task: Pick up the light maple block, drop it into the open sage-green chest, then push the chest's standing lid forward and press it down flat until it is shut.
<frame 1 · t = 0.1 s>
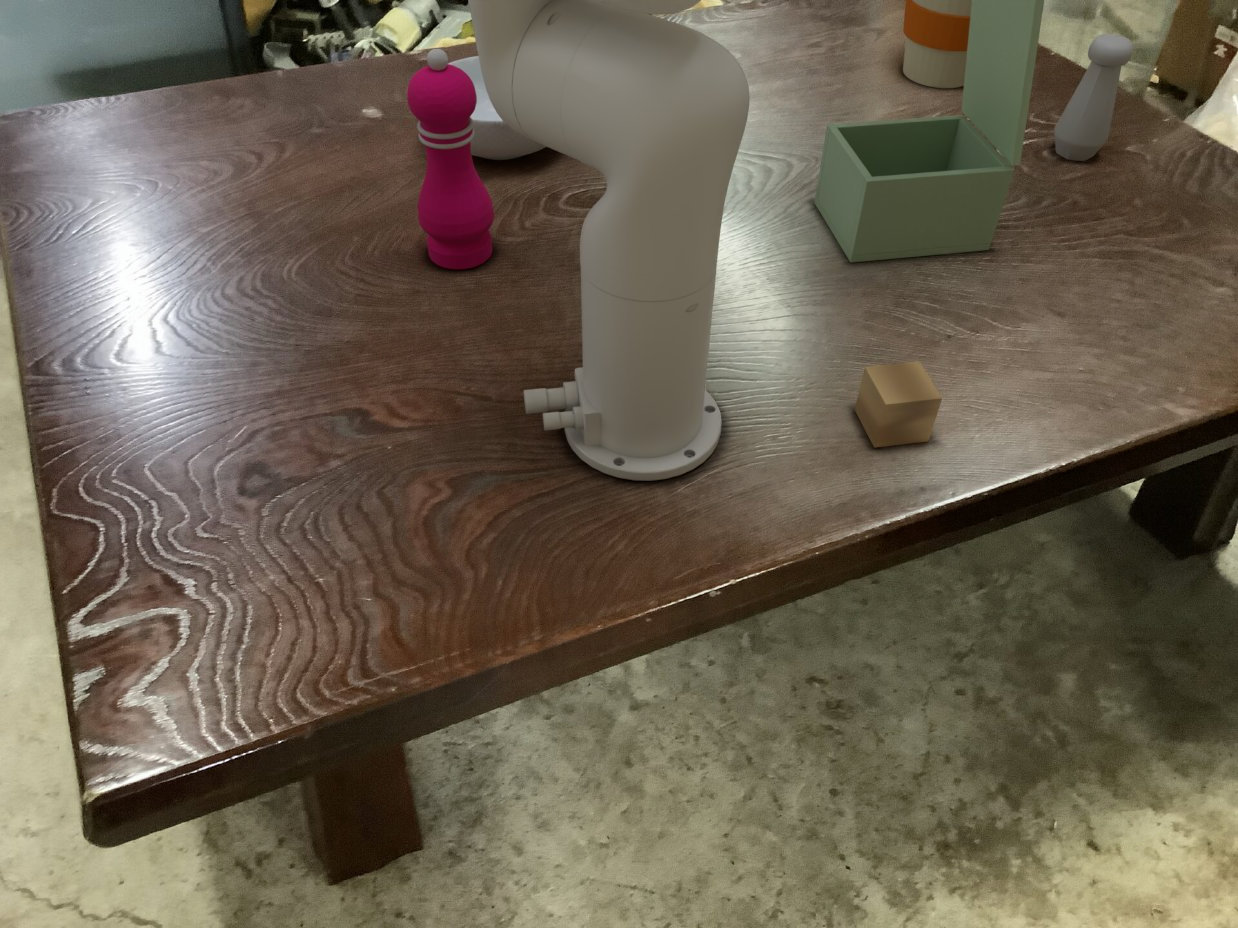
chest: (898, 226, 101), on the table
reusable coffee cup: (937, 75, 128), on the table
salt shaker: (1073, 154, 113), on the table
lid: (998, 59, 90), point 17 cm above the table, hinge at 80.0°
block: (890, 425, 80), on the table
cereal bowl: (502, 146, 113), on the table
pepper mill: (461, 254, 97), on the table
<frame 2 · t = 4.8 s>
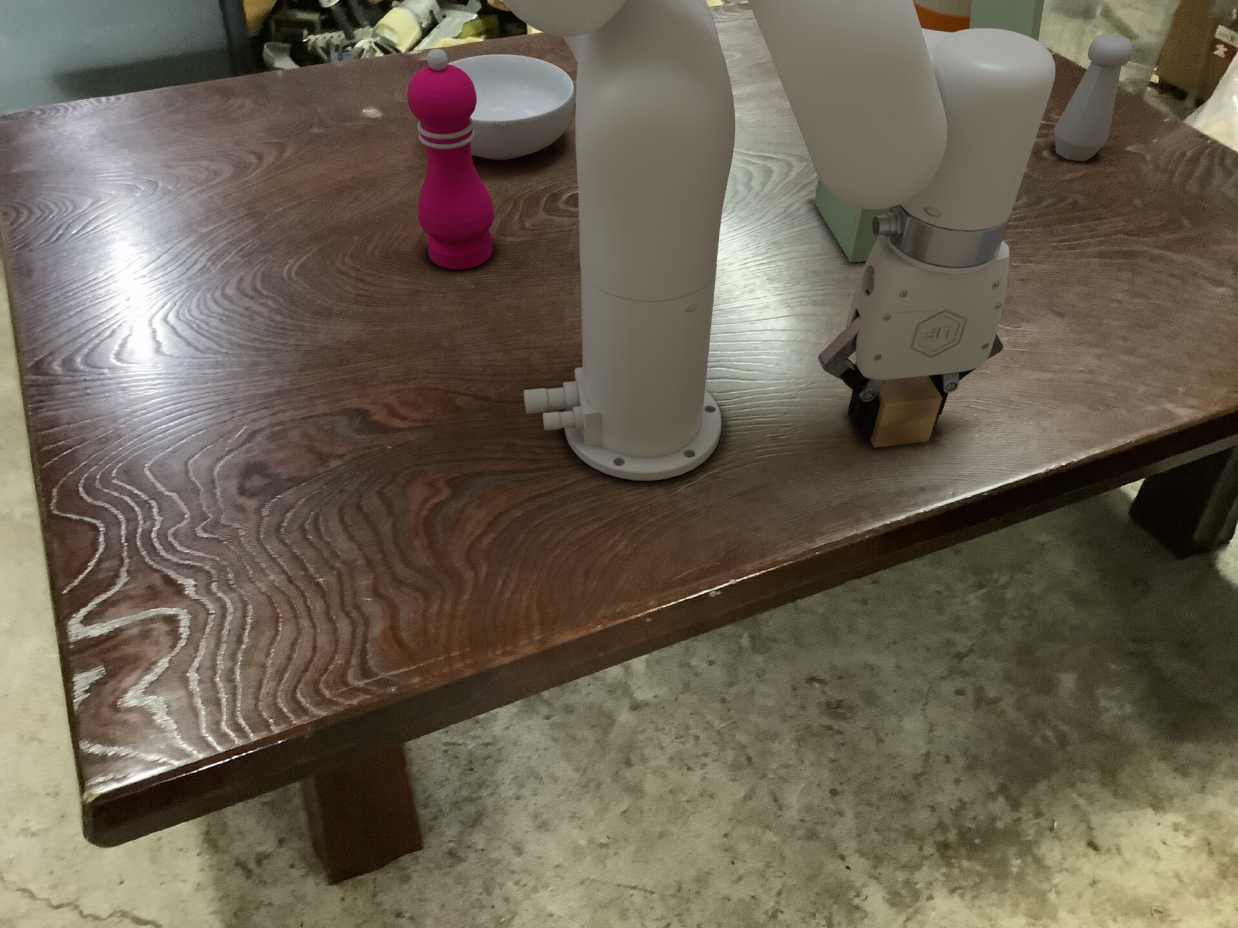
hand: (892, 422, 79), 0 cm above the table, tool pointing down, fingers closed on block, 4 cm apart
block: (890, 425, 80), on the table, touching gripper
everything else where it was.
when the fingers open (7 cm above the table, at t = 11.9 s): block drops 6 cm, resting on chest.
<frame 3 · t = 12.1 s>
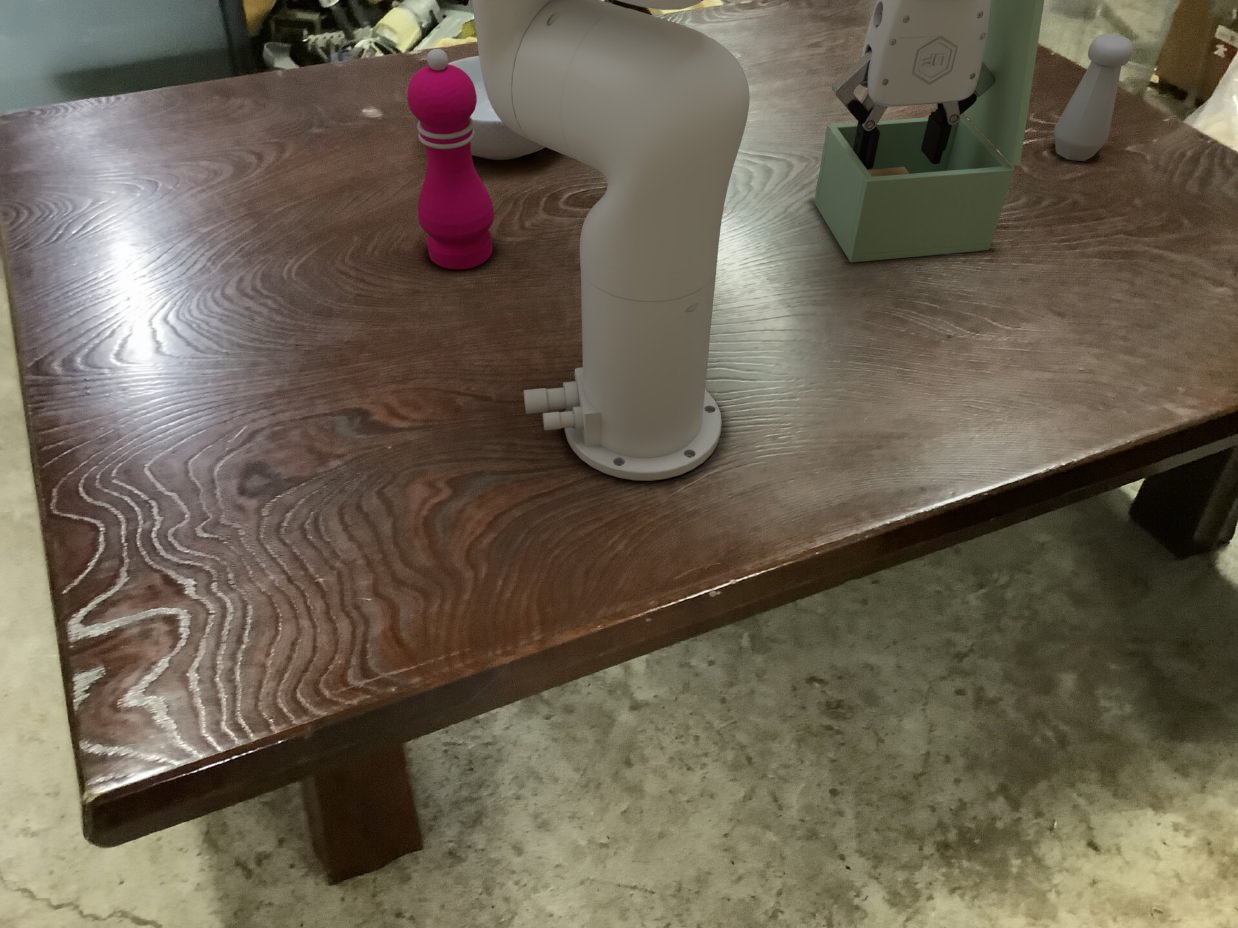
hand: (897, 158, 96), 8 cm above the table, tool pointing down, fingers open, 6 cm apart
block: (882, 220, 100), point 1 cm above the table, touching chest
everything else where it was.
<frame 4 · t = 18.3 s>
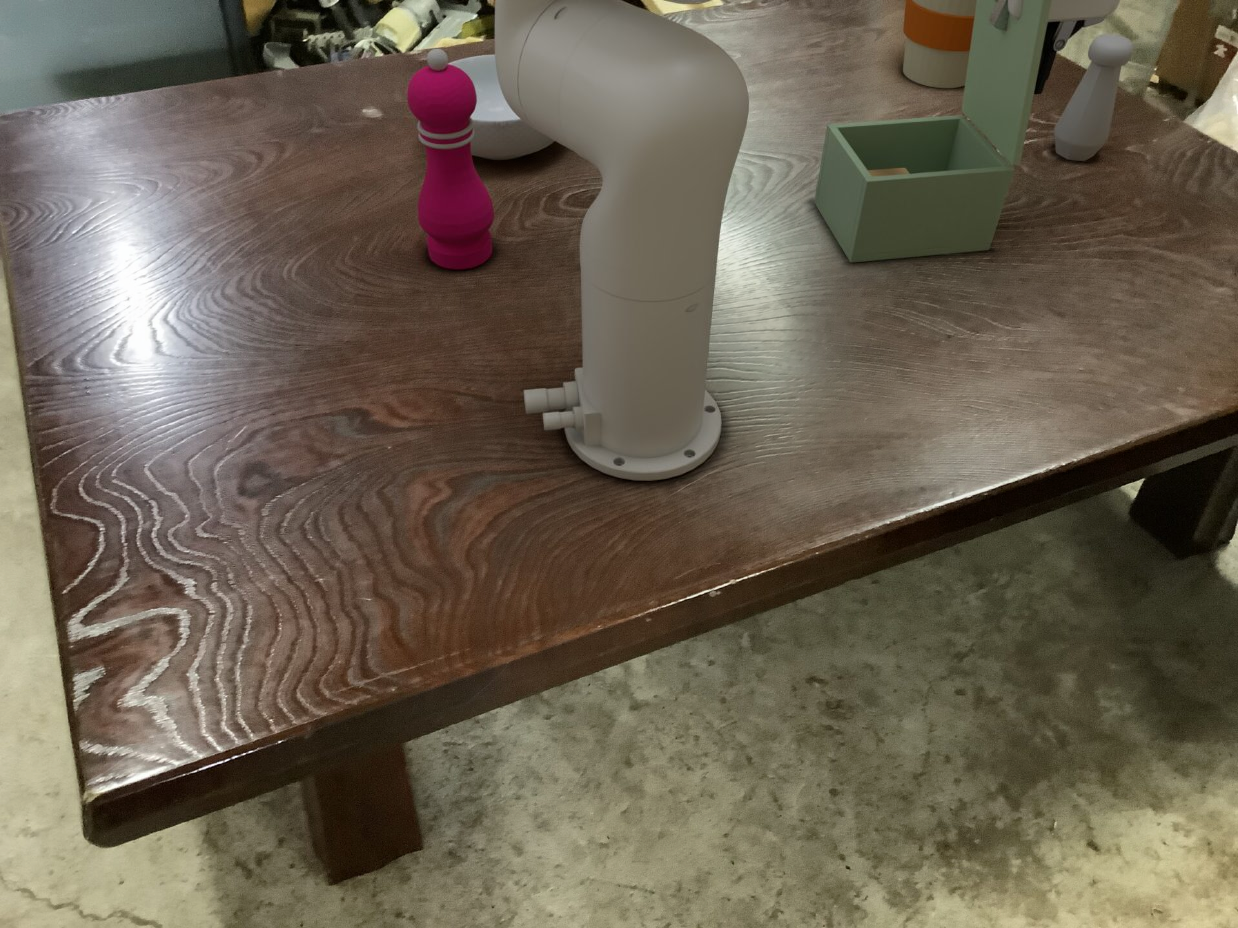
hand: (1025, 88, 93), 14 cm above the table, tool pointing down, fingers closed
lid: (1002, 58, 90), point 17 cm above the table, hinge at 82.4°, touching gripper
everything else where it was.
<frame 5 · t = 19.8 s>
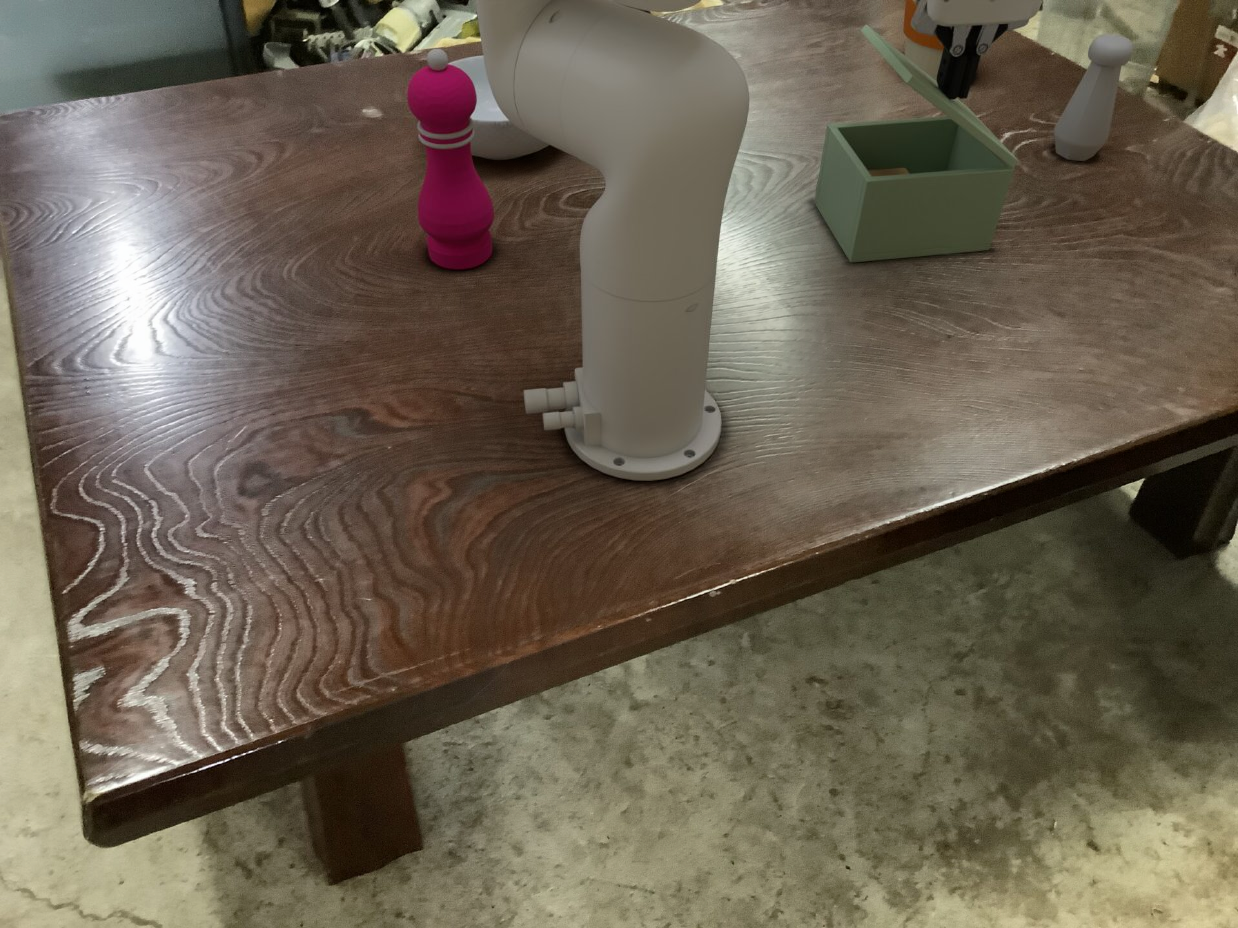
hand: (951, 92, 92), 14 cm above the table, tool pointing down, fingers closed
lid: (939, 96, 92), point 14 cm above the table, hinge at 35.2°, touching gripper
everything else where it was.
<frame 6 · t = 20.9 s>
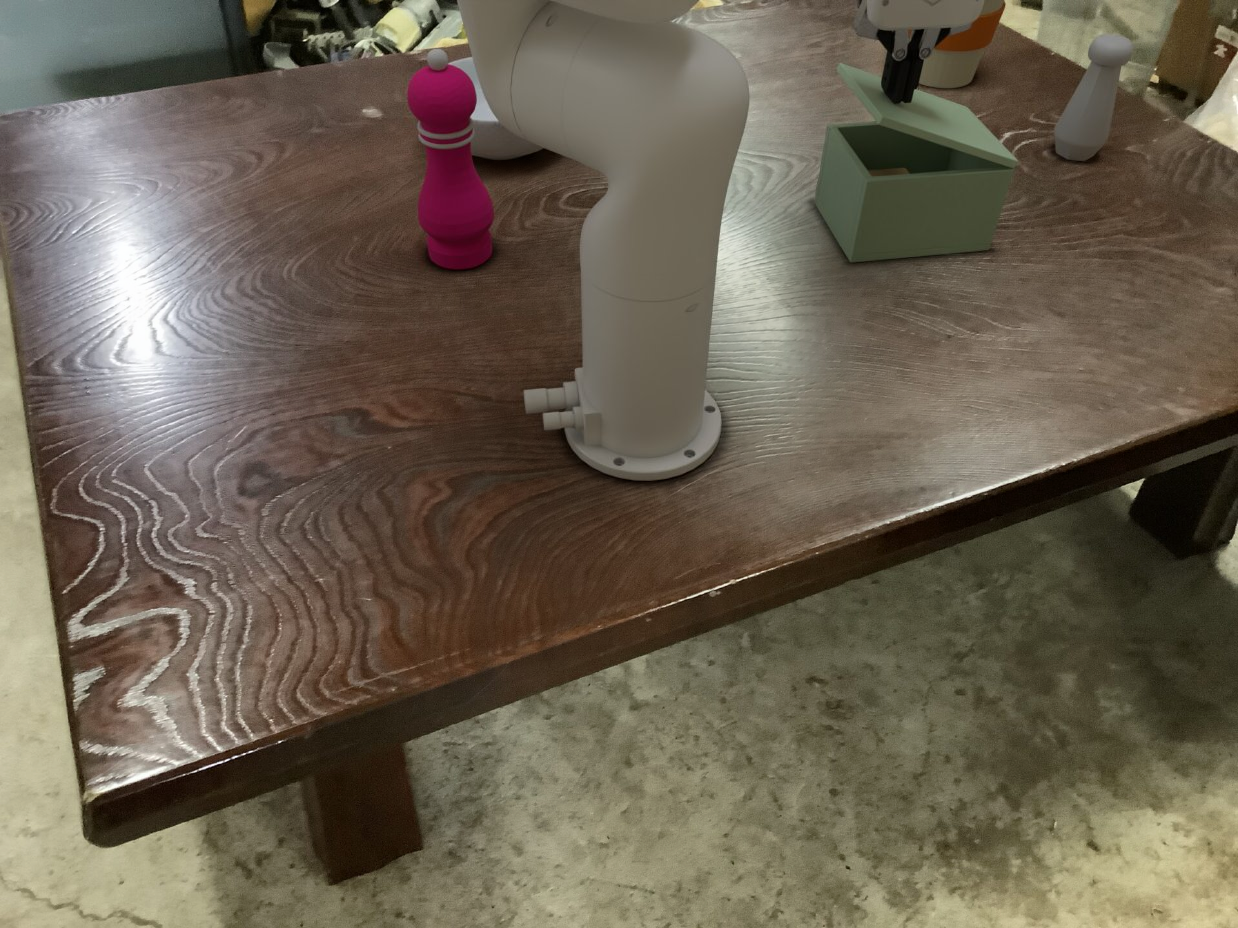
hand: (896, 97, 91), 14 cm above the table, tool pointing down, fingers closed
lid: (925, 115, 93), point 12 cm above the table, hinge at 20.4°
everything else where it was.
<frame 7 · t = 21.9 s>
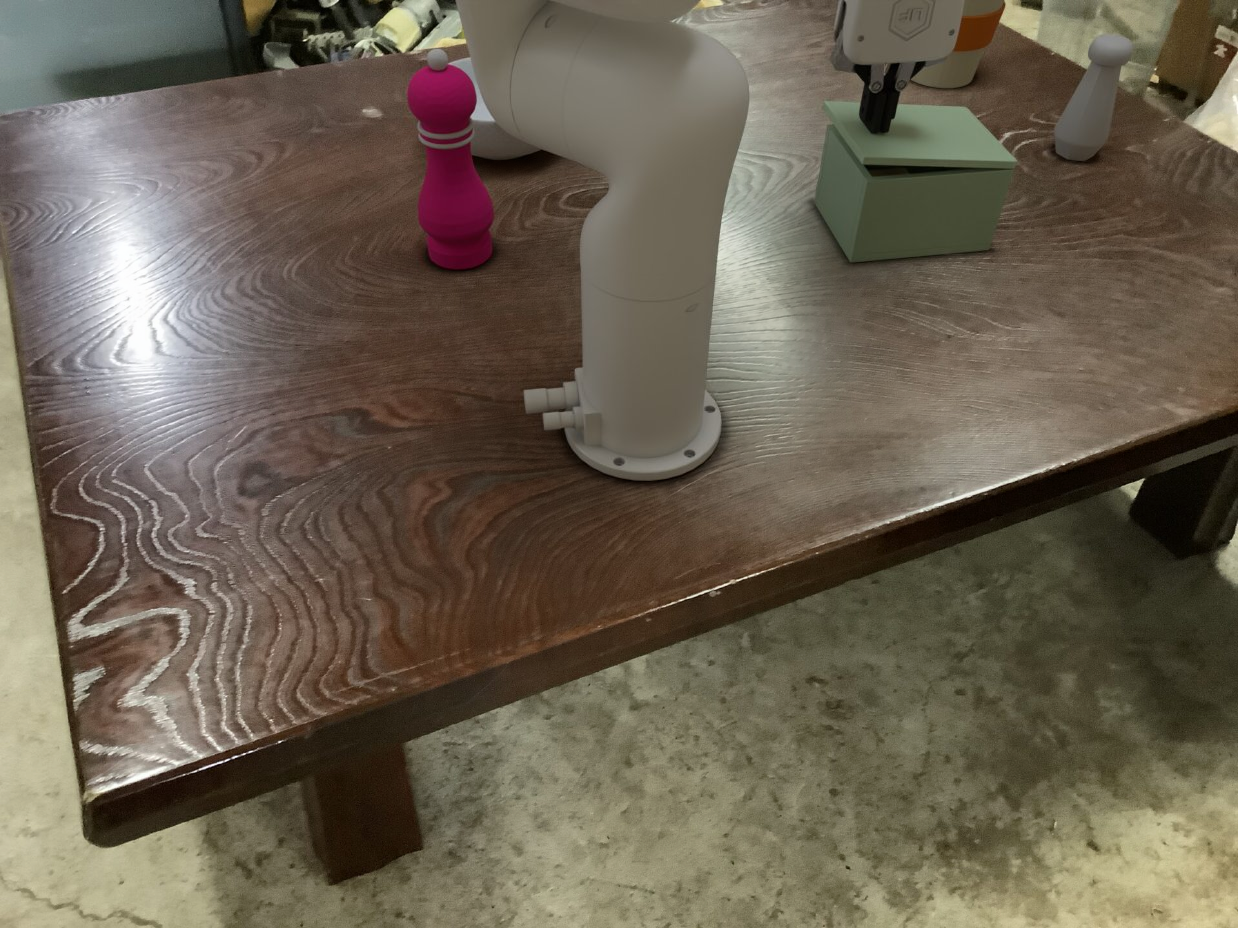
hand: (874, 126, 93), 11 cm above the table, tool pointing down, fingers closed
lid: (917, 134, 94), point 10 cm above the table, hinge at 6.2°, touching gripper
everything else where it was.
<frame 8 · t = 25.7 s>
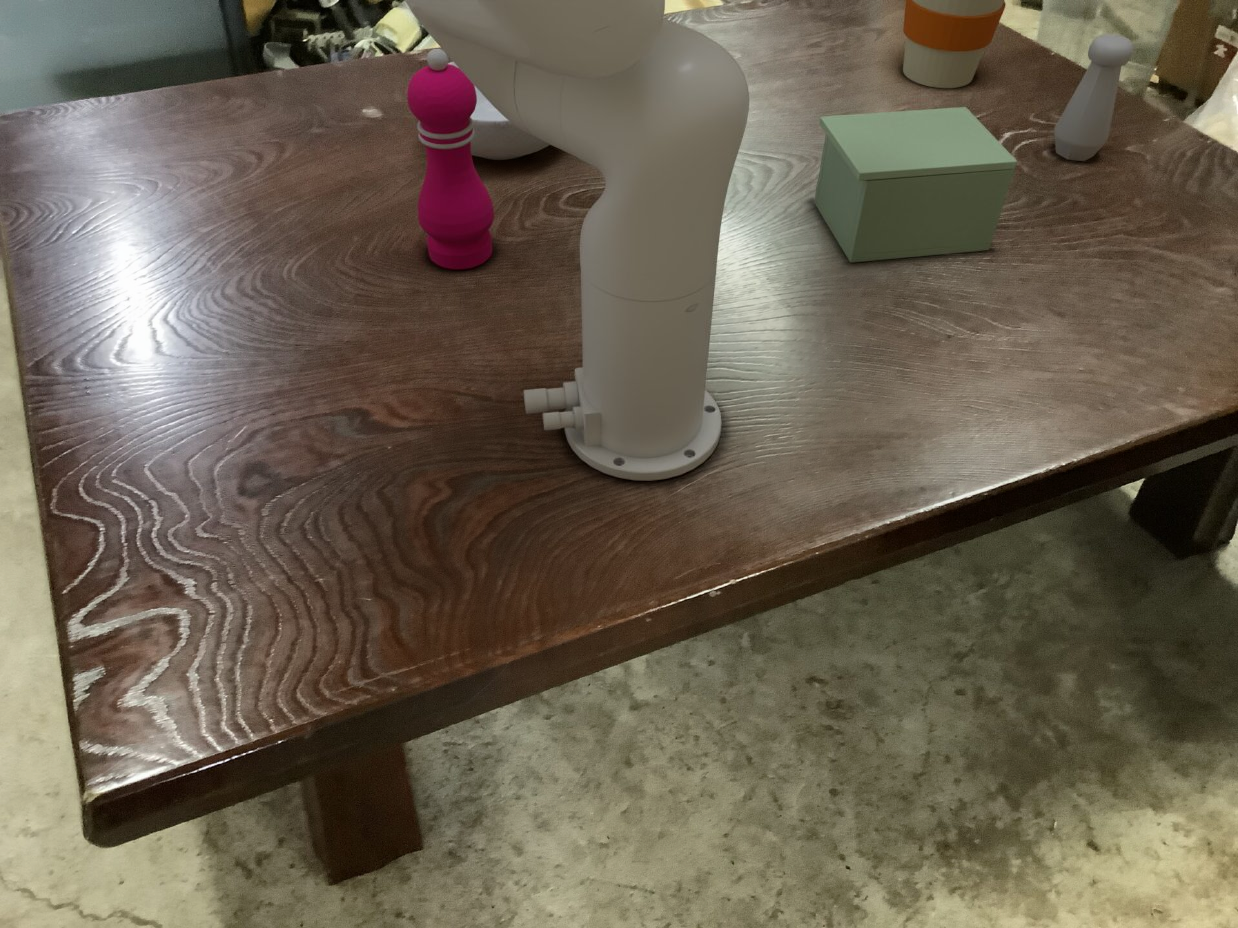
lid: (914, 142, 95), point 9 cm above the table, hinge at 0.2°
everything else where it was.
at the end: lid at +0° (first picture: +80°); block inside the target area in the chest (2.0 cm from its centre), point 0.8 cm above the chest's base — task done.
